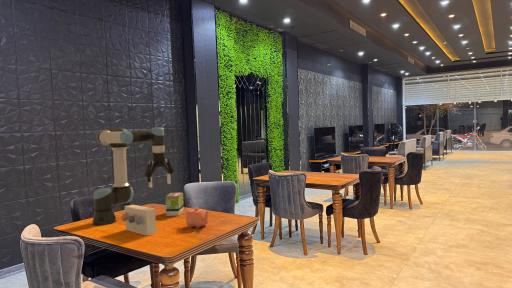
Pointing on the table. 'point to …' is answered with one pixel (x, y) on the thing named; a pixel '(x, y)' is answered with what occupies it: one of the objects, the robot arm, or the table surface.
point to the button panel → (147, 219)
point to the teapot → (196, 217)
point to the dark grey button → (138, 220)
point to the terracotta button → (124, 217)
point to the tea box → (174, 204)
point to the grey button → (131, 219)
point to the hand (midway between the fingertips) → (160, 185)
